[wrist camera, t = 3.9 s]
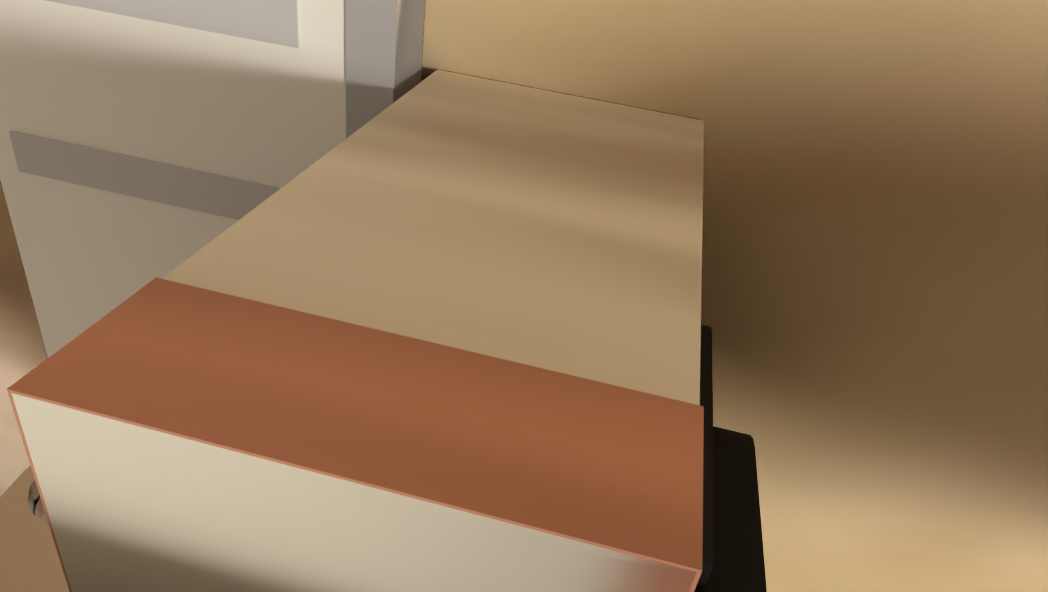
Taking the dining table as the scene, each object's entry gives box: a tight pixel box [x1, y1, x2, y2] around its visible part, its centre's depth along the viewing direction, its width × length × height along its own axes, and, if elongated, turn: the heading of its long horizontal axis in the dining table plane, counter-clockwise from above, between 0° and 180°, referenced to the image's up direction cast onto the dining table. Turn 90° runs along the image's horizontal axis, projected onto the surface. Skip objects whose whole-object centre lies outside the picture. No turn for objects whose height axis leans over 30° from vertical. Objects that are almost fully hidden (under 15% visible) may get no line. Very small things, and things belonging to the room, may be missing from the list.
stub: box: [7, 70, 704, 592], centre depth 8 cm, size 7×4×7 cm, turn 172°
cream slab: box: [0, 0, 425, 358], centre depth 11 cm, size 12×6×1 cm, turn 172°
